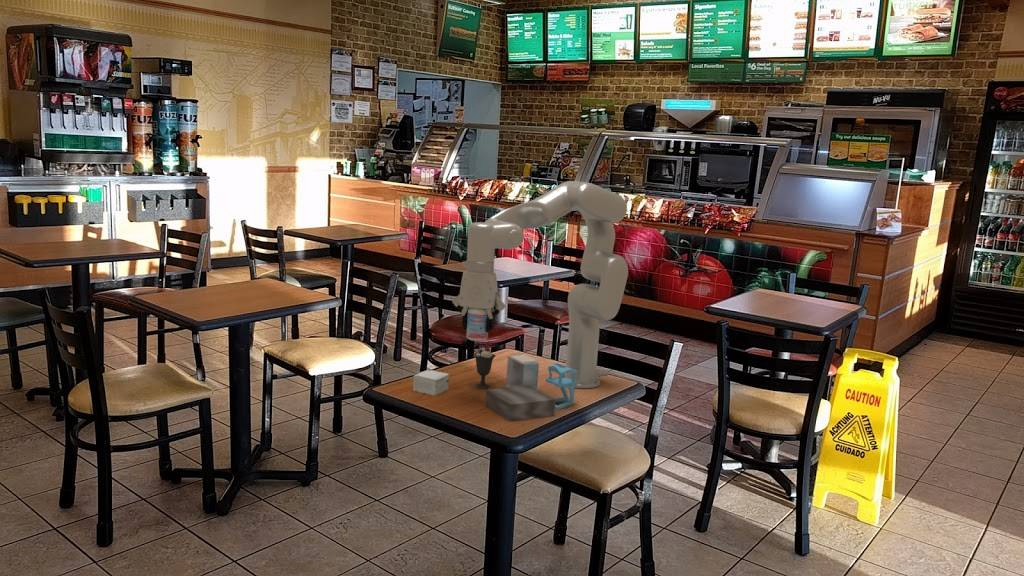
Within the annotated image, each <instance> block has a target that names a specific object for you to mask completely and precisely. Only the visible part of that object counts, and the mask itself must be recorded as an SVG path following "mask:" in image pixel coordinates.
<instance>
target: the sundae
mask: <svg viewBox="0 0 1024 576" xmlns="http://www.w3.org/2000/svg"><path fill="white" fill-rule="evenodd" d="M489 343H491V340H488V342H487V343H486V344H485V345H482V346H481V345H479V346H478V350H477V352H474V353H473V357H474V358H475V363H476V365H475V366H476V367H475V368H476V371H477V373H478V374H479V376H480V377H481V379H480V383H478V384H477V383H476V384H475V385H474V387H475V388H476V389H481V390H483V389H484V390H488V389H491V385H489V384H487V383H486V376H488V375H489V374H490V372H491V370H492V369H491V368H492V366H493V360H494V358H496V357H497V355H496V354H494V353H492V351H491V348H490V345H489Z"/></svg>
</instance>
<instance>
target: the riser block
mask: <svg viewBox="0 0 1024 576" xmlns="http://www.w3.org/2000/svg"><path fill="white" fill-rule="evenodd" d="M485 397H486V399H485V400H486V401H485V406H486V407H488V408H489V409H490V410H492V411H494V412H495V413H496V414H498V415H500V416H501V417H503V418H504V419H506V420H507V421H509V422H512V421H513V422H514V421H521V420H522V421H523V420H529V419H537V418H543V417H544V418H546V417H551V416H553V417H554V415H555V410H556V409H555V405H556V402H555V399H553V398H554V397H552V396H550V395H548V394H546V393H544V392H542V391H541V390H539V389H538V388H537V389H536V388H534V387H532V386H530V385H526V386H516V387H498V388H487V389H486V396H485Z"/></svg>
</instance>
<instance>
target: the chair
mask: <svg viewBox="0 0 1024 576" xmlns="http://www.w3.org/2000/svg"><path fill="white" fill-rule="evenodd" d="M547 369H548V374H549V376H548V377H547V378H546V379H545V382H546V383H547V384H552V385H554V386H555V387H557V388H559V389H560V391H561V393H562V395H563V397H552V398H553V399H555V403H556V402H558V403H559V402H561V404H559V405H557V404H555V409H554V410H556V411H557V410H560V409H564V408H566V407H569V406H571V405H574V404H575V386H576V385H577V382H576V381H575V380H574V377H575V374H576V372H577V370H573V369H571V368H568V367H566V365H562V364H561V363H557V362H555V363H553V364H551V365H549V366H548V367H547ZM552 372H554V373H556V374H557V375H558V377H553V373H552ZM567 372H572V373H573V375H572V380H570V379H568V378H566V377H565V375H566V373H567ZM566 388H567V389H568V391H569V395H568V392H567V391H566V390H567V389H566ZM562 402H563V403H562Z"/></svg>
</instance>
